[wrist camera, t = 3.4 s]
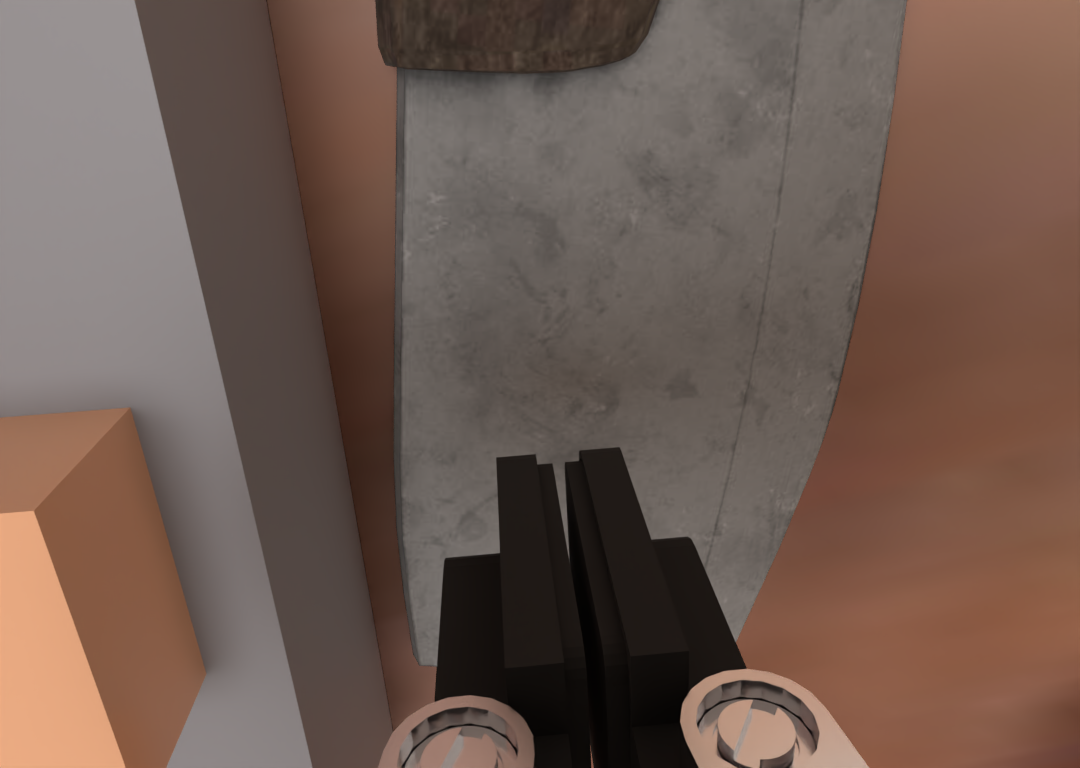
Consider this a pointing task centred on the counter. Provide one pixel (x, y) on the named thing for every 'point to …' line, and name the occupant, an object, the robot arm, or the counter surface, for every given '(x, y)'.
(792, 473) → the cleaver
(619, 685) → the robot arm
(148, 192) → the block
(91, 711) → the terracotta tile
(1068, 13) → the counter surface
